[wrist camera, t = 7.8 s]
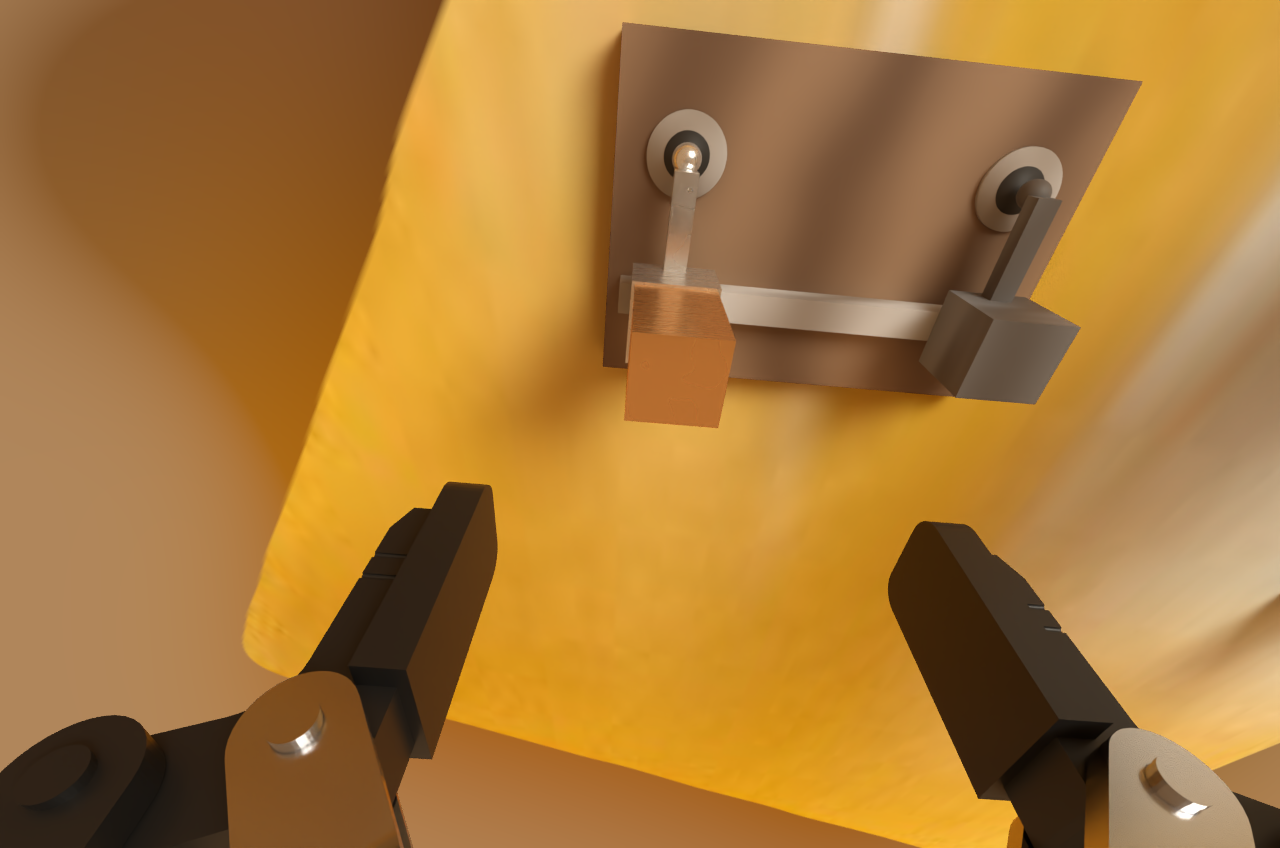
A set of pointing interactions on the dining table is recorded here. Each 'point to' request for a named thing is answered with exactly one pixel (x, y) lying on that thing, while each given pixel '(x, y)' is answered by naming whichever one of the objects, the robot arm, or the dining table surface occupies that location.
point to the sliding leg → (678, 323)
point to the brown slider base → (860, 205)
